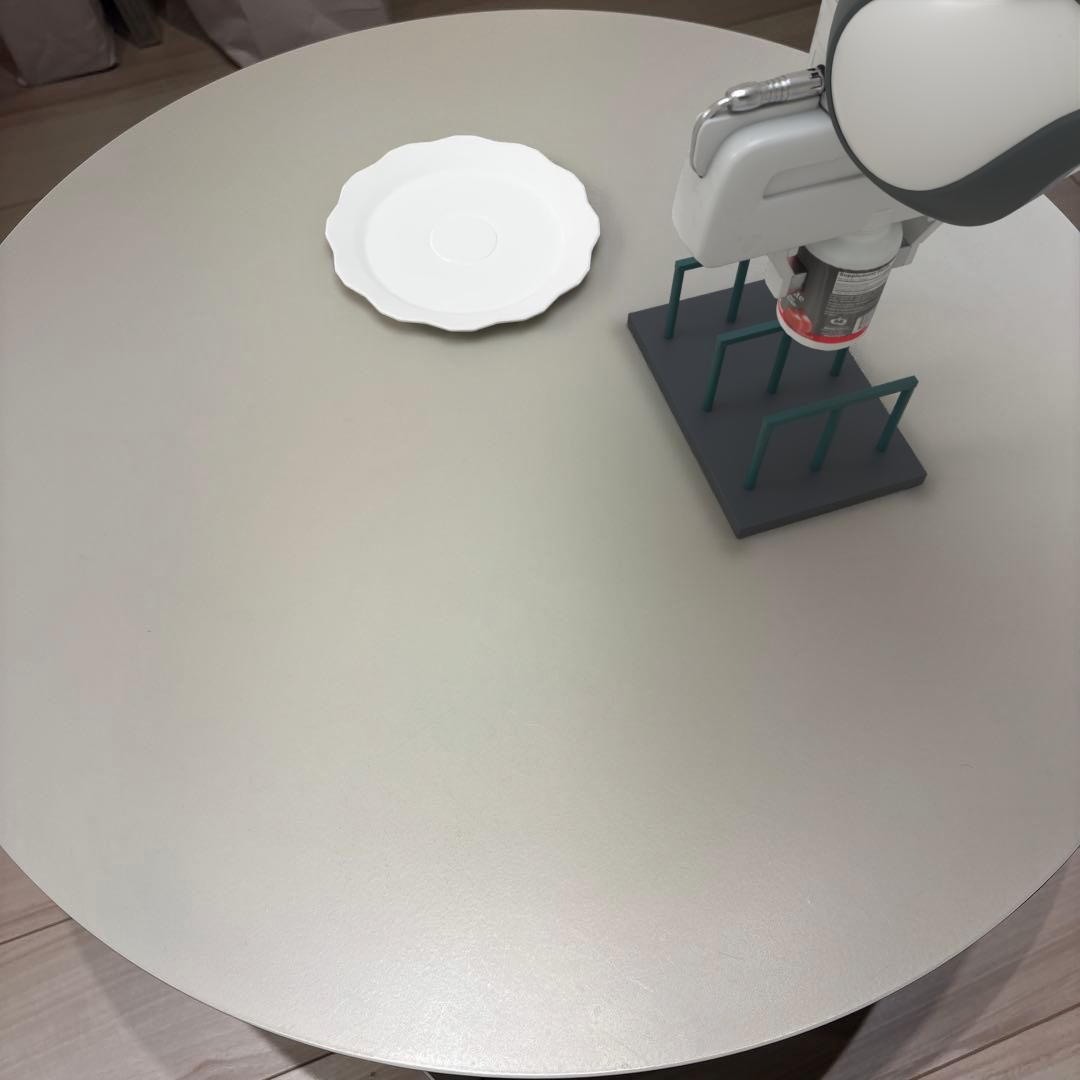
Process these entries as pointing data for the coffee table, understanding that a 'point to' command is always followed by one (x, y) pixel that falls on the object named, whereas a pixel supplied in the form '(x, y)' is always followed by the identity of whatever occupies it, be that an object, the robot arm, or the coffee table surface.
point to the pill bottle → (841, 285)
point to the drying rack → (772, 407)
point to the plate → (462, 233)
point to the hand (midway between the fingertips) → (837, 273)
